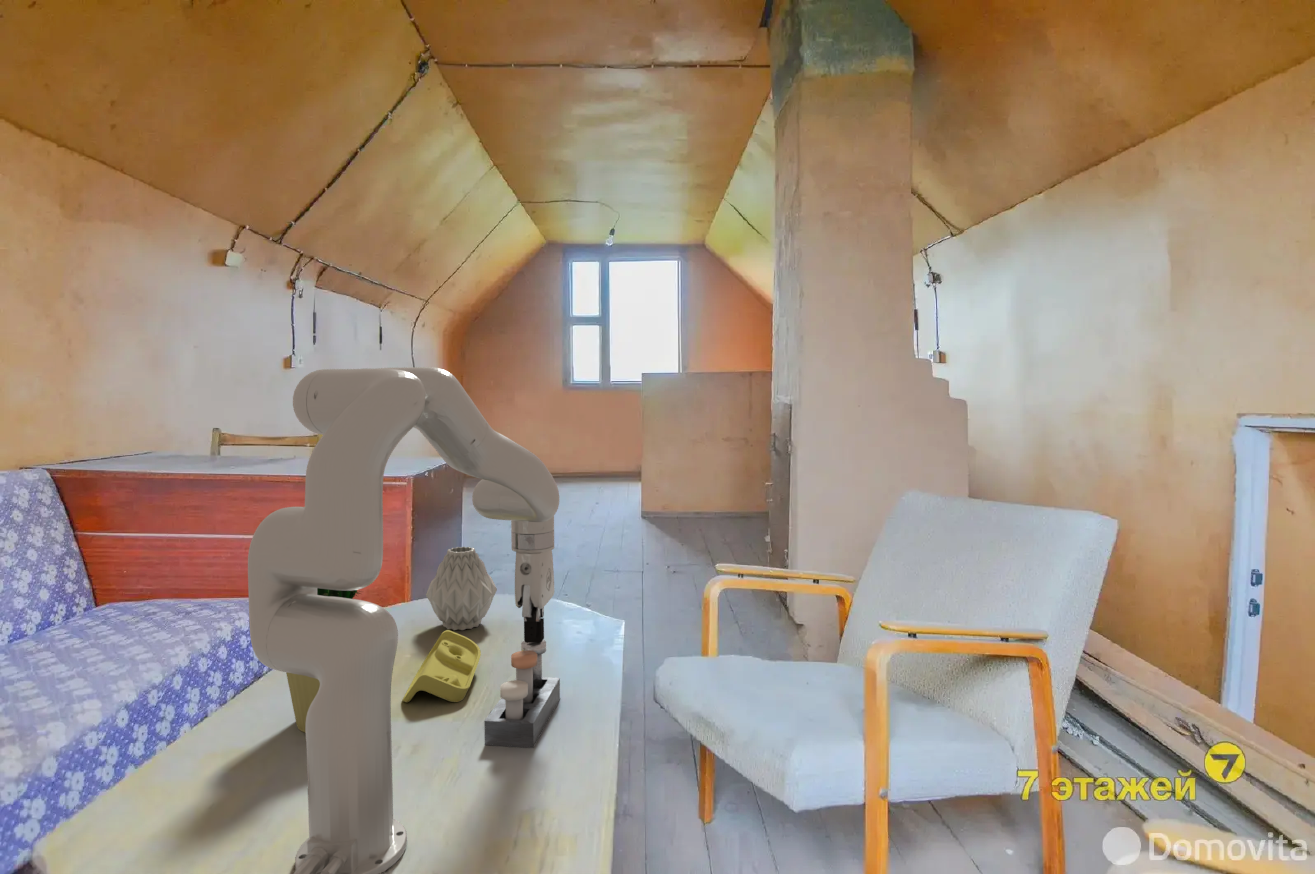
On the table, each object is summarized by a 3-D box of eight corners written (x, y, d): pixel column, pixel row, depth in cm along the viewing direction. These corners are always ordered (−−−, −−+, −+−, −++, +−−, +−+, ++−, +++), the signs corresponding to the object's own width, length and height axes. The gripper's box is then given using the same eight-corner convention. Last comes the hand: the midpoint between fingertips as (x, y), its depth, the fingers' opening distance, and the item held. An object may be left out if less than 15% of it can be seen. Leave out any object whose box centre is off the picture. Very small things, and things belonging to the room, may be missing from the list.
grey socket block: (533, 747, 115) (533, 723, 115) (484, 744, 116) (484, 720, 116) (559, 699, 133) (559, 677, 133) (517, 697, 134) (517, 675, 134)
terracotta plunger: (533, 709, 122) (533, 660, 121) (508, 708, 122) (507, 659, 122) (540, 698, 126) (540, 651, 126) (515, 697, 127) (515, 650, 126)
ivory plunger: (523, 743, 116) (523, 691, 116) (497, 741, 117) (496, 690, 116) (531, 730, 121) (530, 680, 120) (505, 729, 121) (505, 679, 120)
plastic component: (467, 692, 131) (415, 670, 129) (450, 726, 131) (398, 705, 130) (484, 644, 150) (440, 625, 149) (469, 675, 151) (425, 656, 150)
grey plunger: (542, 694, 128) (542, 647, 127) (518, 693, 128) (518, 646, 128) (549, 684, 132) (548, 639, 132) (525, 683, 133) (525, 638, 132)
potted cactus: (286, 749, 114) (280, 562, 112) (280, 711, 127) (274, 543, 125) (388, 726, 122) (384, 551, 120) (372, 693, 135) (368, 534, 133)
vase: (510, 621, 177) (510, 546, 175) (459, 641, 163) (458, 560, 162) (463, 610, 185) (462, 539, 184) (411, 628, 171) (410, 551, 170)
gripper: (542, 550, 121) (544, 657, 122) (563, 532, 135) (564, 627, 137) (499, 549, 121) (500, 655, 123) (524, 531, 136) (525, 626, 138)
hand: (534, 640), depth 130 cm, fingers closed
